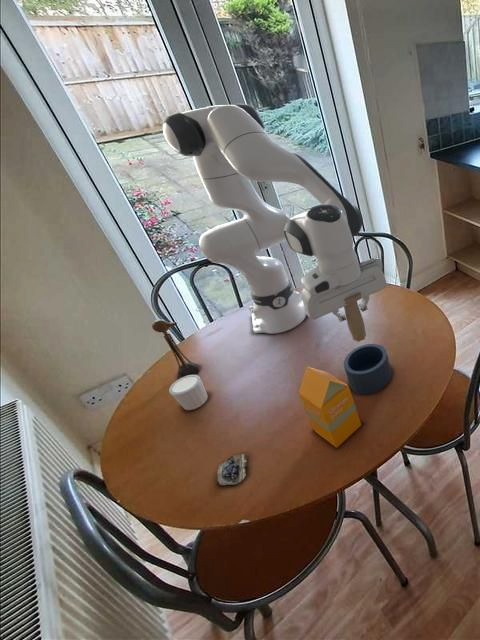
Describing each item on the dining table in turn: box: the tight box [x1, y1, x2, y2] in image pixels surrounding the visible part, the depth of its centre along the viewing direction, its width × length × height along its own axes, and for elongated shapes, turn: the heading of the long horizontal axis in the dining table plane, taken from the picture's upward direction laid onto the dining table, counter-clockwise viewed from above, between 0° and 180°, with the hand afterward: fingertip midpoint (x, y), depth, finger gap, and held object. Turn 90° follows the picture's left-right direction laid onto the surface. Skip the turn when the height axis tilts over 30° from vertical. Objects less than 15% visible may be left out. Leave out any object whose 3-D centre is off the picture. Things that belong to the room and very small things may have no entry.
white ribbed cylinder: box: [168, 374, 209, 411], centre depth 108 cm, size 7×7×7 cm
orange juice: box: [298, 365, 362, 448], centre depth 97 cm, size 8×9×20 cm
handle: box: [343, 292, 367, 343], centre depth 104 cm, size 5×6×15 cm
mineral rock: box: [216, 453, 247, 486], centre depth 92 cm, size 7×8×2 cm
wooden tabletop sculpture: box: [151, 319, 200, 378], centre depth 114 cm, size 6×5×20 cm
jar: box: [343, 343, 392, 395], centre depth 114 cm, size 12×12×8 cm
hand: (353, 314), depth 104 cm, fingers closed on handle, 4 cm apart
